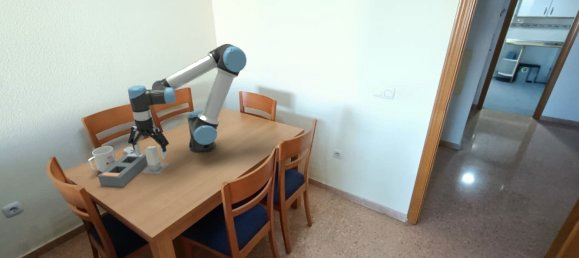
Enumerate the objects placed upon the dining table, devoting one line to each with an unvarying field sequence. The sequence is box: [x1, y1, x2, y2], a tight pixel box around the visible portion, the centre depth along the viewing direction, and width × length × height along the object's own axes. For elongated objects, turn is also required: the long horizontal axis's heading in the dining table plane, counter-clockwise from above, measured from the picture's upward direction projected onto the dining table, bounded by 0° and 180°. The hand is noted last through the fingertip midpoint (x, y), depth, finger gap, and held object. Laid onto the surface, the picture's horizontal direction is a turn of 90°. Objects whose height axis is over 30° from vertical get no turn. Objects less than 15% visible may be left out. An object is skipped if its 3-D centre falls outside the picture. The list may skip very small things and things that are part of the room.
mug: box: [87, 145, 118, 173], centre depth 137 cm, size 12×9×11 cm
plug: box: [143, 145, 161, 171], centre depth 138 cm, size 4×4×12 cm
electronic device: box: [123, 146, 143, 155], centre depth 152 cm, size 5×10×15 cm
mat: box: [140, 162, 169, 175], centre depth 141 cm, size 10×10×1 cm
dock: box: [97, 153, 148, 188], centre depth 135 cm, size 11×21×6 cm, turn 174°
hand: (151, 156), depth 137 cm, fingers open, 13 cm apart
